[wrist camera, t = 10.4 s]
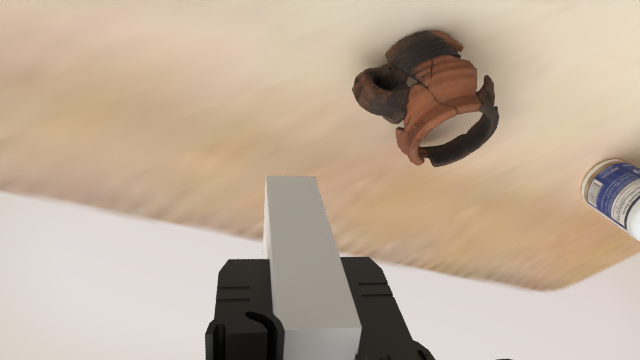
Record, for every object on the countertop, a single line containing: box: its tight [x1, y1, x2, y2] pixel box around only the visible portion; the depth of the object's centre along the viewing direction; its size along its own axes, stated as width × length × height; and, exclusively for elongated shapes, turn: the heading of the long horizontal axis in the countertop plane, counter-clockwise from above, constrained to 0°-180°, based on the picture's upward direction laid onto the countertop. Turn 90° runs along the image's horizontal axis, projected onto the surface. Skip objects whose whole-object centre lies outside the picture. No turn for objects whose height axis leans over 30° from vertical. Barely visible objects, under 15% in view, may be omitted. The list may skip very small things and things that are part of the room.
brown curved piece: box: [352, 31, 499, 167], centre depth 37 cm, size 12×10×8 cm
